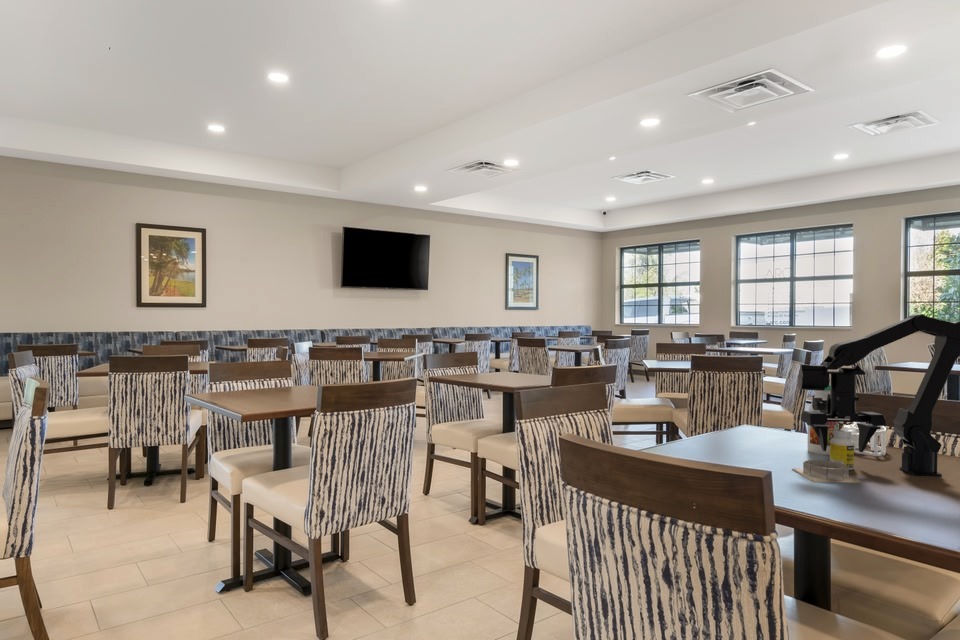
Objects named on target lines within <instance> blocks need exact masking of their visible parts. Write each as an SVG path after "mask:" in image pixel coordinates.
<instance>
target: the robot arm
mask: <svg viewBox="0 0 960 640" xmlns="http://www.w3.org/2000/svg"><path fill="white" fill-rule="evenodd" d="M918 332H922V333H924V334H927V335H930V336H934V340H933V345H934V346H933V347H934V353H933V356H932V357H931V360H930V362H929V364H928V367H927V369H926V371H925V373H924V376H923V378H922V379H921V382H920V383H919V384H920V385H919V386H918V389H917V392H916V394H915V395H914V398H913V400H912V402H911V403H910V405H909V406H908V407H907V408H906V409H904V408H901V407H898V410H897V414H896V417H895V418H894V419H893V420H892V423H893V424H894V425H893V431H894V432H895V434H896V436H898V437H899V438H900V439H901V441H902V443H903V445H904V446H903V452H902V453H901V466H900V467H899V470H901V471H904V472H906V473H908V474H911V475H914V476H927V477H929V476H933V477H936V476H937V477H942V473H940V472H938V454H939V452H940V450H941V448H942V444H941V443H940V442H939V441H938V440H937V439H936V438H935V437H933V435H932V434H931V432H932V428H933V411H934V410H935V407H936V404H937V402H938V400H939V398H940V396H941V393H942V391H943V389H944V387H945V386H946V383H947V382H948V381H947V380H948V379H949V376H950V374H951V372H952V370H953V367H954V365H955V363H956V361H957V360H958V359H959V358H960V321H948V320H942V319H939V318H933V317H930V316H927V315H925V314H919V313H918V314H917V313H916V314H911V315H909V316H907V317H906V318H903V319H902V320H899V321H896V322H894V323H893V324H890V325H888V326H885V327H883V328H881V329H878V330H877V331H874V332H871V333H870V334H867V335H864V336H862V337H859V338H858V337H857V338H853V339H848V340H845V341H841V342H837V343H835V344H833V345H831V346H830V347H829V349H828V355H827V356H826V357H825V359H824V360H822V362H821V363H820V364H819V365H818V364H816V365H815V364H814V365H813V364H806V363H800V365H799V369H798V375H797V387H798V389H799V390H800V391H814V390H818V391H824V390H825V388H827V387H829V384H830V394H828V396H827V400H822V398H814V397H813V398H812V400H811V401H812V402H811V403H812V407H813V410H820V412H818V411H809V410H803V412H802V413H801V417H800V420H801V422H803V423H806V425H807V426H808V425H809V426H811V427H812V428H813V429H814V431H815V433H816V435H817V437H818V440H819V443H820V445H821V448H822V450H823V451H826V448H827V437H828V426H825V424H826V423H827V422H838V423H853V422H860V423H857V426H858V429H859V443H858V447H859V448H858V450H859V452H863V451H865V449H866V448H867V444H868V442H869V443H870V441H871V437H872V436H873V434H874V433H875V432H876V430H877V429H881V427H879V426H884V427H886V426H887V419H886V417H885V415H884V414H882V413H879V412H875V411H859V412H857V411H856V410H857V407H856V406H857V402H859V400H860V397H859V396H856V395H857V376H865V375H866V374H867V373H866V372H865V371H864V370H863V369H862V368H860V366H859V365H858V364H857V363H858V362H861V361H862V360H863V359H865V358H866V357H867V356H868V355H870V354H871V353H873V352H874V351H876V350H878V349H880V348H883V347H885V346H887V345H890V344H891V343H894V342H897V341H899V340H901V339H903V338H906V337H908V336H910V335H913V334H916V333H918ZM850 366H851V367H850ZM835 417H836V418H835Z"/></svg>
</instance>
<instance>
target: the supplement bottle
mask: <svg viewBox="0 0 960 640" xmlns="http://www.w3.org/2000/svg"><path fill="white" fill-rule="evenodd" d="M834 436H835V437H834V438H832V439H831V440H830V455H829V461H832V462H838V463H842V464H844V465H846V466H848V467H849V470H854V468H855V467H854V465H855V464H854V463H855V452H854V442H853V441H852V440H851V439H850V438H851V436H852V435H851V431H847V430H844V429H838V430H834Z"/></svg>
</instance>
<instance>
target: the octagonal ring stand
mask: <svg viewBox="0 0 960 640" xmlns="http://www.w3.org/2000/svg"><path fill="white" fill-rule="evenodd" d="M802 465H803V466H802V468H795V467H791V470H792V471H794V472H795V473H797V474H798V475H801V476H802V477H804V478H806V479H808V480H810V481H811V482H814V483H815V482H816V483H849V484H851V483H853V484H862V483H863V481H862V480H859V479H858V478H855V477H854V476H852V475H850V472H849V467H848V466H846V465H844V464H842V463H838V462H832V461H830V460H826V459H825V460H824V459H807V460H805V461H803V462H802Z"/></svg>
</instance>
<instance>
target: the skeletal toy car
mask: <svg viewBox="0 0 960 640" xmlns="http://www.w3.org/2000/svg"><path fill="white" fill-rule="evenodd" d="M857 423H860V422H852V424H848V425H847V424H846V425H843V430H847V431H851V435H852V436H851V438H850V439H851V440H852V441H853V442H854V454H859V455H860V454H861V455H866V456H871V457H881V456H885V455H886V453H887V427H886V426H879V427H881V429H877V430H876V432H875V433H874V434H873V436H872V437H871V439H870V441H869V442H868V444H867V445H866V447H870V451H873V452H870V451H866V450H864V451H863V452H859V447H858V443H859V429H858V426H857ZM879 436H881V439H880V441H881V443H880V444H881V446H880V445H878V443H879Z"/></svg>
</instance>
